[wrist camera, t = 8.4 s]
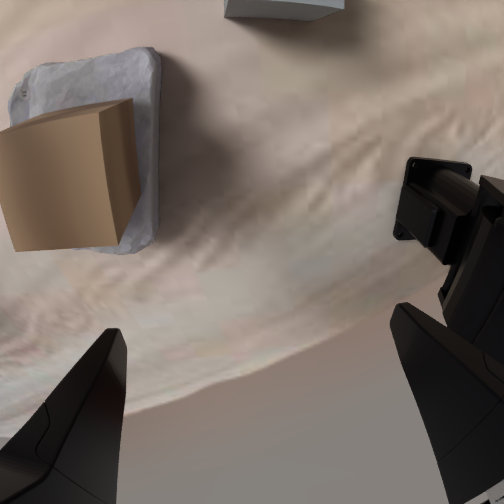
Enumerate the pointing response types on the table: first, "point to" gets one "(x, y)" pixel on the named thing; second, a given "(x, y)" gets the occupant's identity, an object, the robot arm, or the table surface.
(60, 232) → the walnut cube
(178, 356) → the table surface
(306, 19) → the slate cube
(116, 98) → the stone block
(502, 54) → the table surface
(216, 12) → the table surface
